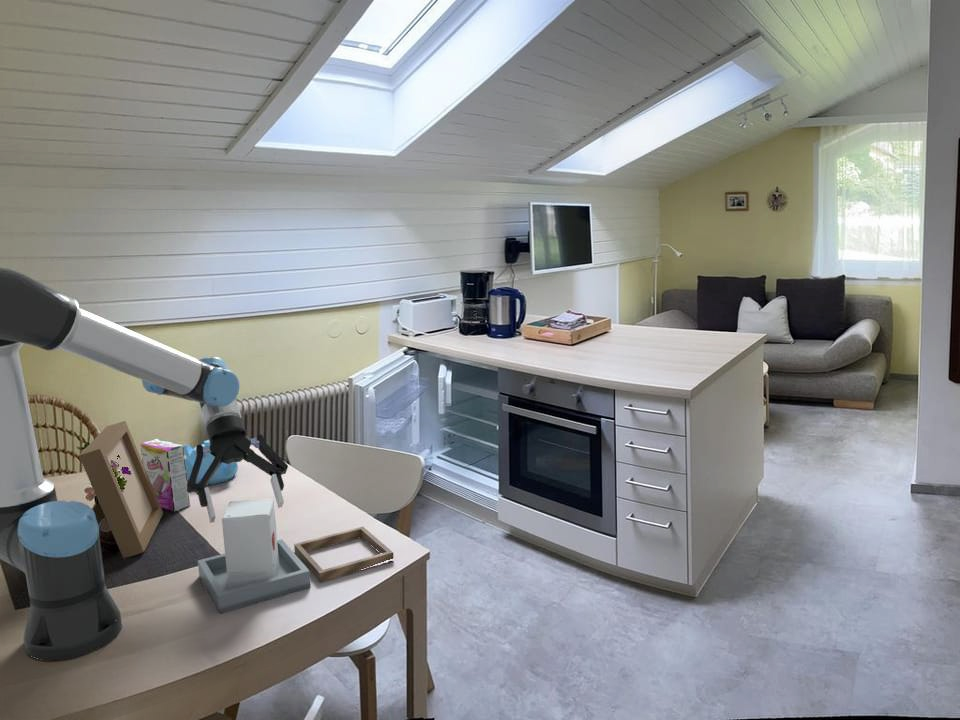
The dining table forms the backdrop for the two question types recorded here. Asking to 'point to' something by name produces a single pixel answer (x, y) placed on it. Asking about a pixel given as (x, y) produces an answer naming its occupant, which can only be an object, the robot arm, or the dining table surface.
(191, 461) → the teapot
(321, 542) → the walnut collar
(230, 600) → the grey tray
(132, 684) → the dining table surface
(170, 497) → the candy bar box
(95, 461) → the photo frame
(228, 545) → the supplement box
